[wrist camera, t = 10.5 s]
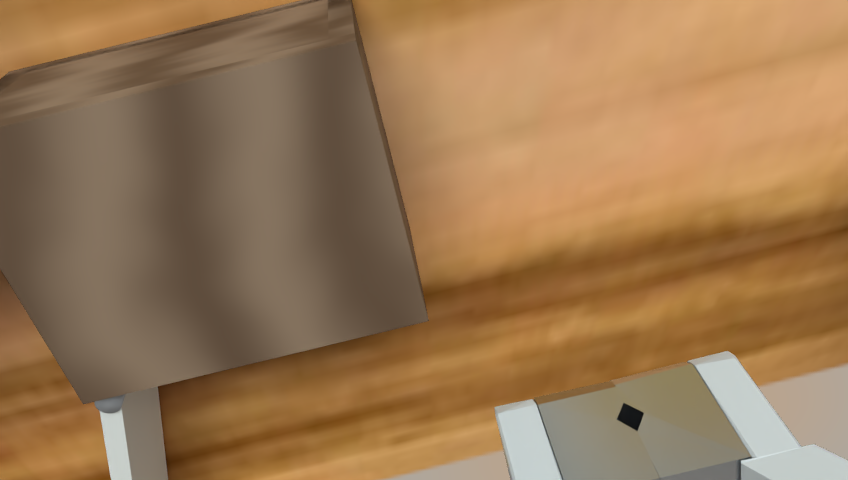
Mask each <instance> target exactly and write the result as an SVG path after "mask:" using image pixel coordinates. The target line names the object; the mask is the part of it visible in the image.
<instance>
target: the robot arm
mask: <svg viewBox="0 0 848 480" xmlns="http://www.w3.org/2000/svg"><path fill="white" fill-rule="evenodd" d="M495 415H496V420H497V424H498V428H499V432H500V437H501V441H502V445H503V450H504V454H505V458H506V462H507V466H508V471H509V475H510V479H511V480H848V460H846V459H844V458H842V457H840V456H838V455H836V454H834V453H832V452H830V451H828V450H826V449H824V448H822V447H820V446H818V445H816V444H812V445H807V446H801V445H800V444H799V442H798V441H797V440H796V438H795V437H794V435H793V434H792V433H791V431H790V430H789V429H788V427H787V426H786V425H785V423H784V422H783V420H782V419H781V418H780V416H779V415H778V414H777V412H776V411H775V410H774V408H773V407H772V406H771V404H770V403H769V401H768V400H767V399H766V397H765V396H764V395H763V393H762V392H761V391H760V389H759V388H758V386H757V385H756V384H755V382H754V381H753V380H752V378H751V377H750V376H749V374H748V373H747V371H746V370H745V369H744V367H743V366H742V365H741V363H740V362H739V361H738V359H737V358H736V356H735V355H733V354H732V353H730V352H728V351H725V352H721V353H717V354H713V355H709V356H705V357H701V358H697V359H693V360H689V361H688V362H687V363H686V362H682V363H678V364H674V365H670V366H666V367H662V368H658V369H654V370H650V371H646V372H642V373H638V374H634V375H630V376H626V377H622V378H618V379H614V380H610V381H609V382H604V383H600V384H595V385H590V386H586V387H581V388H576V389H572V390H567V391H563V392H558V393H553V394H549V395H544V396H539V397H535V398H534V400H533V399H530V400H525V401H521V402H516V403H511V404H506V405H502V406H497V407H495Z"/></svg>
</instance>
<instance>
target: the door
mask: <svg viewBox="0 0 848 480" xmlns="http://www.w3.org/2000/svg"><path fill="white" fill-rule="evenodd" d="M95 406H96V408H97V409H98V410H99V411H100V415H101V422H102V428H103V434H104V440H105V446H106V452H107V458H108V464H109V470H110V476H111V480H168V475H167V465H166V456H165V447H164V438H163V429H162V420H161V411H160V402H159V393H158V386H157V387H153V388H149V389H145V390H141V391H136V392H132V393H128V394H124V395H120V396H116V397H112V398H107V399H103V400H99V401H95Z"/></svg>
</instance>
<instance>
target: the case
mask: <svg viewBox="0 0 848 480" xmlns="http://www.w3.org/2000/svg"><path fill="white" fill-rule="evenodd" d="M0 269H1V271H2V273H3V274H4V276H5V277H6V279H7V281H8V282H9V284H10V286H11V287H12V289H13V290H14V292H15V294H16V295H17V297H18V299H19V300H20V302H21V304H22V305H23V307H24V308H25V310H26V312H27V313H28V315H29V317H30V318H31V320H32V321H33V323H34V325H35V326H36V328H37V330H38V331H39V333H40V335H41V336H42V338H43V339H44V341H45V343H46V344H47V346H48V348H49V349H50V351H51V352H52V354H53V356H54V357H55V359H56V361H57V362H58V364H59V366H60V367H61V369H62V370H63V372H64V374H65V375H66V377H67V379H68V380H69V382H70V383H71V385H72V387H73V388H74V390H75V392H76V393H77V395H78V397H79V398H80V400H81V401H82V403H83V404H87V403H91V402H95V401H99V400H103V399H107V398H112V397H116V396H120V395H124V394H128V393H132V392H136V391H141V390H145V389H149V388H153V387H157V386H161V385H165V384H170V383H174V382H178V381H182V380H186V379H190V378H194V377H199V376H203V375H207V374H211V373H215V372H219V371H223V370H228V369H232V368H236V367H240V366H244V365H248V364H252V363H257V362H261V361H265V360H269V359H273V358H277V357H281V356H286V355H290V354H294V353H298V352H302V351H306V350H310V349H315V348H319V347H323V346H327V345H331V344H335V343H339V342H344V341H348V340H352V339H356V338H360V337H364V336H368V335H373V334H377V333H381V332H385V331H389V330H393V329H397V328H402V327H406V326H410V325H414V324H418V323H422V322H426V321H429V320H428V315H427V310H426V305H425V300H424V295H423V291H422V286H421V281H420V276H419V271H418V266H417V261H416V256H415V251H414V247H413V242H412V237H411V232H410V227H409V223H408V219H407V215H406V212H405V208H404V204H403V200H402V196H401V192H400V188H399V184H398V180H397V176H396V172H395V168H394V165H393V161H392V157H391V153H390V149H389V145H388V141H387V137H386V133H385V129H384V125H383V121H382V118H381V114H380V110H379V106H378V102H377V98H376V94H375V90H374V86H373V82H372V78H371V74H370V71H369V67H368V63H367V59H366V55H365V51H364V47H363V43H362V39H361V35H360V31H359V27H358V24H357V20H356V16H355V12H354V8H353V4H352V0H301V1H297V2H293V3H289V4H285V5H281V6H276V7H272V8H268V9H264V10H260V11H256V12H252V13H248V14H244V15H240V16H236V17H231V18H227V19H223V20H219V21H215V22H211V23H207V24H203V25H199V26H195V27H191V28H186V29H182V30H178V31H174V32H170V33H166V34H162V35H158V36H154V37H150V38H145V39H141V40H137V41H133V42H129V43H125V44H121V45H117V46H113V47H109V48H105V49H100V50H96V51H92V52H88V53H84V54H80V55H76V56H72V57H68V58H64V59H60V60H55V61H51V62H47V63H43V64H39V65H35V66H31V67H27V68H23V69H19V70H15V71H10V72H8V73H7V74H6V75H5V76H4V77H2V78H1V79H0Z"/></svg>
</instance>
